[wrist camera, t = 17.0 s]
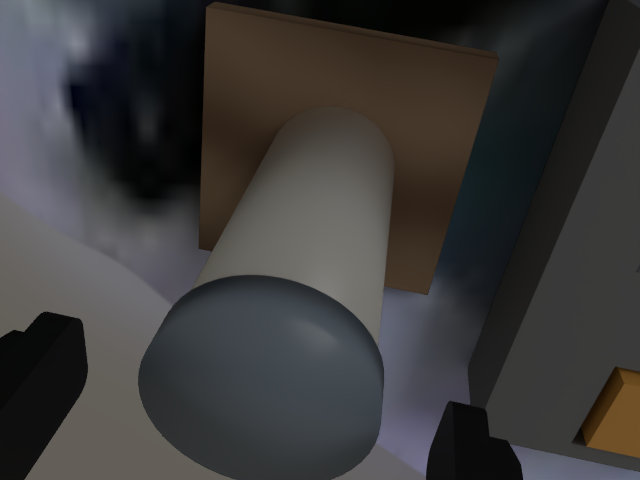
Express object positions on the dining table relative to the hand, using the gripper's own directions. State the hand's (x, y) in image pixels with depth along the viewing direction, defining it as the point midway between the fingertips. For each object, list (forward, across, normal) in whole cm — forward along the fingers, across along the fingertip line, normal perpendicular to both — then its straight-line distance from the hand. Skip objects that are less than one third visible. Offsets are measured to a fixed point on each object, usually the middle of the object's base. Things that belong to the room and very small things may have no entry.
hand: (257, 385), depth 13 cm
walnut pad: (+12, 0, 0) cm, 13 cm away
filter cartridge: (+12, 0, 0) cm, 12 cm away
